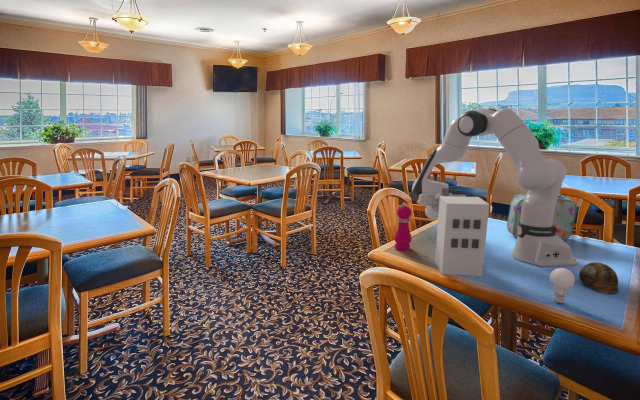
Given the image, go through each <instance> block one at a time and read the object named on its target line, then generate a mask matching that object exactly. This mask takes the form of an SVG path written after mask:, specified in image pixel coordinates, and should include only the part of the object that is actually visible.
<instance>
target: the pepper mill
mask: <svg viewBox="0 0 640 400" xmlns="http://www.w3.org/2000/svg"><path fill="white" fill-rule="evenodd" d="M401 205H402V206H399V207H398V208H397V210H396V215H397V222H398V226H397V230H396V231H395V234H394V237H393V240H394V242H395V244H394V248H395V250H397V251H400V252H402V251H403V252H408V251H410V249H411V245H410V244H411V242H412V235H411V232H410V229H409V223H410V222H411V220H410V219H411V218H410V217H411V216H412V209H411V208H410V207H409V206H407V205H408V204H407V203H406V202H403V203H402V204H401Z"/></svg>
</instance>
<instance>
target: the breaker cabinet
mask: <svg viewBox="0 0 640 400" xmlns="http://www.w3.org/2000/svg"><path fill="white" fill-rule="evenodd" d="M489 212H490V204H489V203H488V202H487V201H485V200H484V199H482V198H481V197H479V196H466V197H455V196H440V200H439V214H438V219H437V231H436V244H435V245H436V246H435V259H434V263H435V264H436V266H437V269H438V270H439V272H440V274H441V275H445V274H449V275H450V276H472V277H474V276H476V277H482V276H483V272H484V271H483V270H484V264H485V263H484V262H485V261H484V260H485V253H486V250H485V249H486V243H487V242H486V241H487V232H488V231H487V230H488V224H489V223H488V221H489V214H490V213H489Z"/></svg>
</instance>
